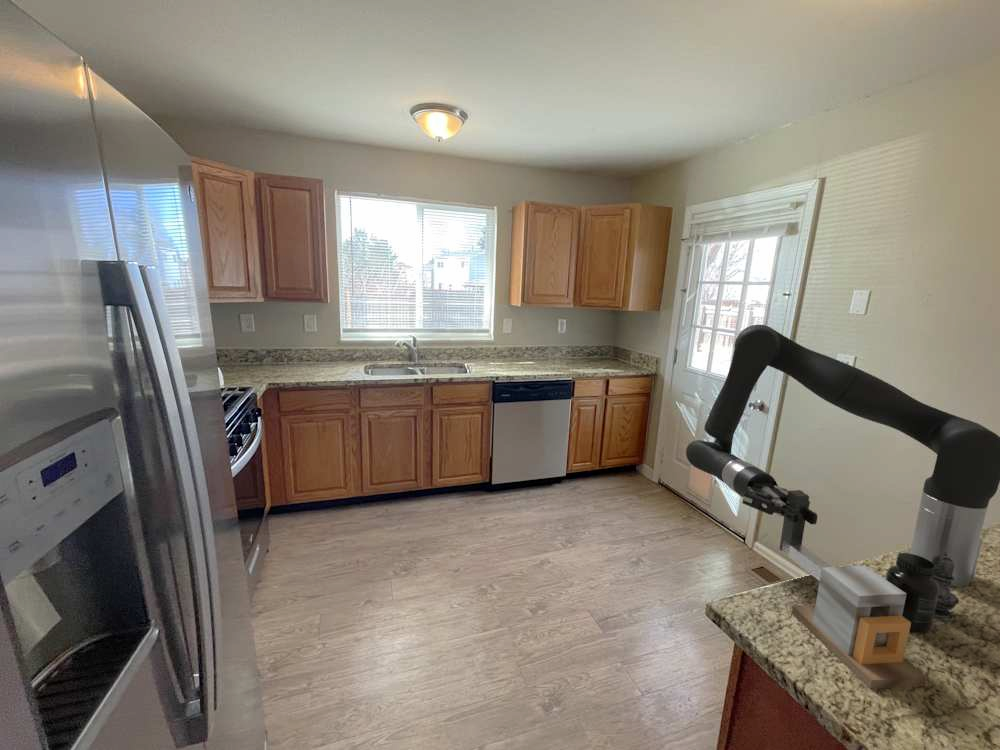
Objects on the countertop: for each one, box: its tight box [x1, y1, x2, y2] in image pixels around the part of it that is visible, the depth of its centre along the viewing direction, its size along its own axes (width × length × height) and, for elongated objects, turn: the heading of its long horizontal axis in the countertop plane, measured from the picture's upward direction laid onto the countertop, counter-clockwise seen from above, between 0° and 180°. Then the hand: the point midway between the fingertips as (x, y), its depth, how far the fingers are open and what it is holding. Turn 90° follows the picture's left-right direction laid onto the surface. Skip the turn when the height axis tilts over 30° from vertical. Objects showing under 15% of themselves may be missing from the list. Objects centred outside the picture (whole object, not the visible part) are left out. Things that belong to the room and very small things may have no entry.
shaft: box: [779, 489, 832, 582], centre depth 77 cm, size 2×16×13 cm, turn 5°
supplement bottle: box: [885, 552, 940, 634], centre depth 76 cm, size 7×7×12 cm
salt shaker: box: [932, 552, 960, 621], centre depth 79 cm, size 6×6×12 cm
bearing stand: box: [791, 565, 928, 690], centre depth 70 cm, size 9×16×12 cm, turn 5°
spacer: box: [853, 616, 911, 664], centre depth 66 cm, size 7×2×7 cm, turn 95°
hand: (807, 519), depth 80 cm, fingers closed on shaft, 2 cm apart
